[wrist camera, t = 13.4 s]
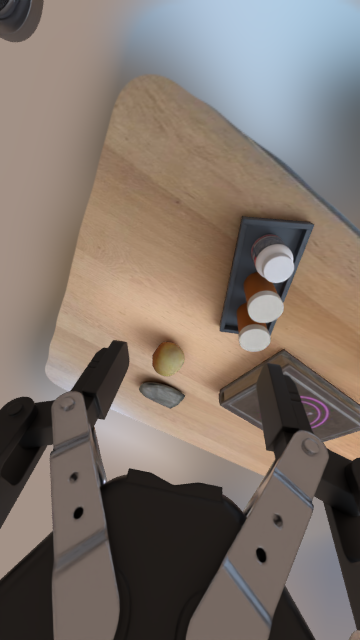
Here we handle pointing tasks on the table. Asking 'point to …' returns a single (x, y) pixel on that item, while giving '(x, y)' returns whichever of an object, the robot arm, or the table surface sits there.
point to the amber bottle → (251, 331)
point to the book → (316, 394)
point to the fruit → (168, 359)
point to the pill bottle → (272, 258)
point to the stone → (161, 394)
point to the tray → (243, 264)
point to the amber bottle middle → (262, 299)
